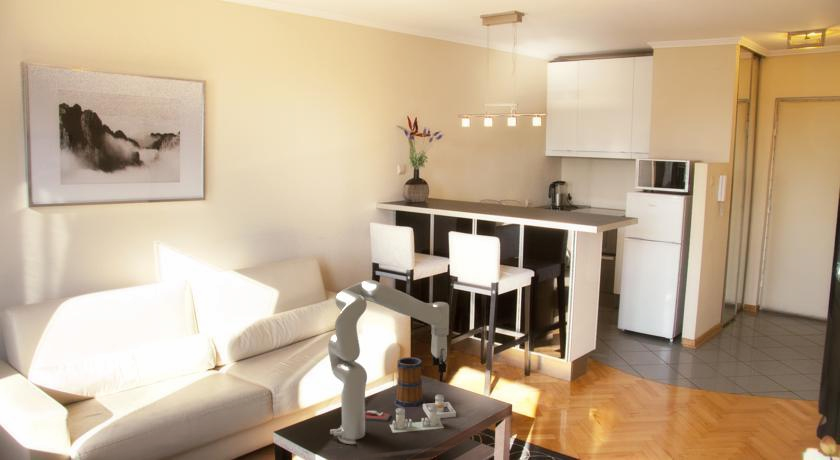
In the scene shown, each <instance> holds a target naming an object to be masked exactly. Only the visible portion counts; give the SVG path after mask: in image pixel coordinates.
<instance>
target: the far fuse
mask: <svg viewBox="0 0 840 460" xmlns="http://www.w3.org/2000/svg"><path fill="white" fill-rule="evenodd" d="M428 411H429V418H428V425H429V426H431V427H435V426H437V406H436V405H430V406H428Z"/></svg>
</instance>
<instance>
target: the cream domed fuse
mask: <svg viewBox="0 0 840 460" xmlns="http://www.w3.org/2000/svg"><path fill="white" fill-rule="evenodd" d="M405 419H406V408H401V407H397V408H395V424H396V429H398V430H403V429H405Z"/></svg>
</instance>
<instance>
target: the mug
mask: <svg viewBox="0 0 840 460" xmlns="http://www.w3.org/2000/svg"><path fill="white" fill-rule="evenodd" d="M396 363H397V373H398V374H397V389H396V396H394V397H395V398H394V399H395V400H393V402H394V405H395V406H397V408H404V409H411V408H420V407H423V404H426V401H425V398H424V396H423V390H422V389H423V387H422V383H423V381H422V367H423V361H422V359H420V358H418V357H413V356H412V357H411V356H409V357H408V356H407V357H401V358H399V359H398V360H397V362H396Z"/></svg>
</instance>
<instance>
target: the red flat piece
mask: <svg viewBox="0 0 840 460" xmlns="http://www.w3.org/2000/svg"><path fill="white" fill-rule="evenodd" d="M390 418H391V413H384V412H383V411H382V412H378V411H377V410H370V409H369V410H367V411H365V421H374V422H375V421H377V422H389V420H390Z"/></svg>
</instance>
